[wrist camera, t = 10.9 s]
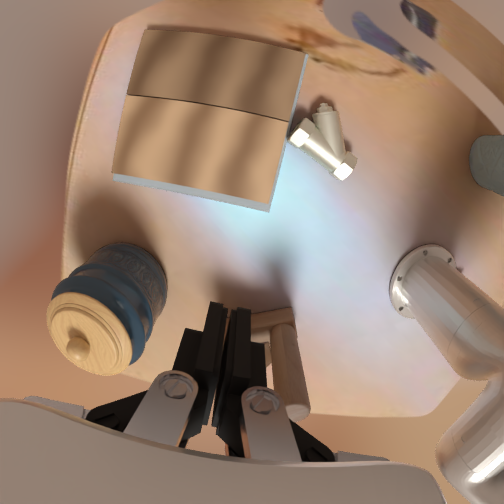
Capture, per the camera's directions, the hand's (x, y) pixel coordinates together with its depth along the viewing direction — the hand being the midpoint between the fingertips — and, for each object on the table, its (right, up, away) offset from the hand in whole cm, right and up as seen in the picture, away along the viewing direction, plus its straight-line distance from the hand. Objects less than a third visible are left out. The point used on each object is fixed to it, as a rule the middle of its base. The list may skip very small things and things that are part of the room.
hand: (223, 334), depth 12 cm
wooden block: (+2, -7, +32) cm, 33 cm away
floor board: (-3, +25, +19) cm, 32 cm away
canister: (-17, -1, +30) cm, 34 cm away
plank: (-5, +16, +22) cm, 28 cm away
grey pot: (+38, +18, +22) cm, 48 cm away
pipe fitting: (+10, +17, +23) cm, 31 cm away
